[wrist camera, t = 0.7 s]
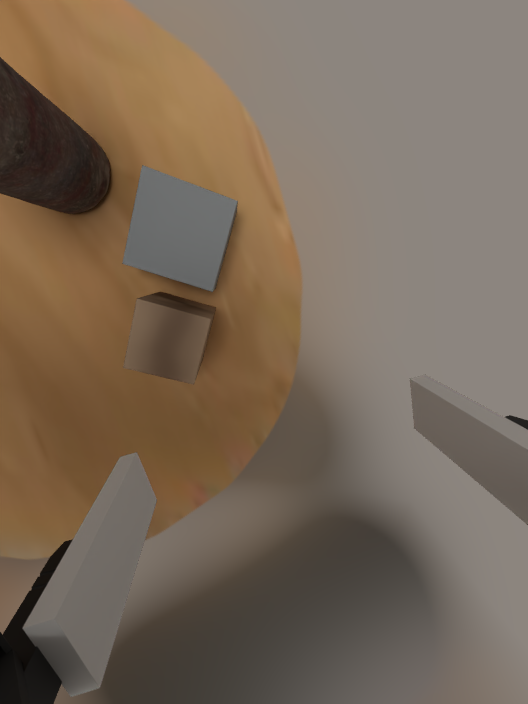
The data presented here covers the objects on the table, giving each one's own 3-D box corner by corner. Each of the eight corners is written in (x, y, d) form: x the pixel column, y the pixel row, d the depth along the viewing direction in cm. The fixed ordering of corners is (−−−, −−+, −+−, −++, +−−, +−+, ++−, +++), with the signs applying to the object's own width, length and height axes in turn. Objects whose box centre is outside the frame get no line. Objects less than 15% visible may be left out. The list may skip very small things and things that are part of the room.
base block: (139, 264, 30) (122, 263, 26) (157, 182, 29) (142, 165, 24) (215, 288, 32) (212, 291, 27) (236, 212, 30) (237, 201, 25)
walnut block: (149, 344, 32) (123, 367, 25) (160, 291, 31) (136, 298, 23) (202, 358, 33) (193, 384, 26) (216, 307, 32) (211, 319, 24)
